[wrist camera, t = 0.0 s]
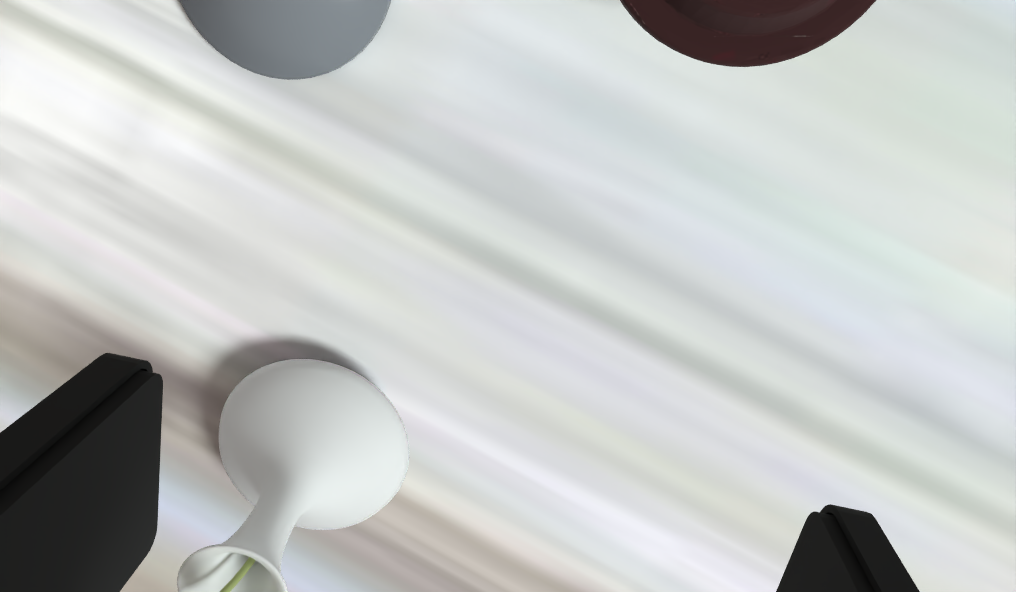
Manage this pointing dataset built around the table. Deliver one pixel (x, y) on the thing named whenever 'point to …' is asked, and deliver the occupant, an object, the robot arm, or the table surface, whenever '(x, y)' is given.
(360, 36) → the coaster
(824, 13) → the coffee cup
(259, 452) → the flower in vase
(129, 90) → the table surface
